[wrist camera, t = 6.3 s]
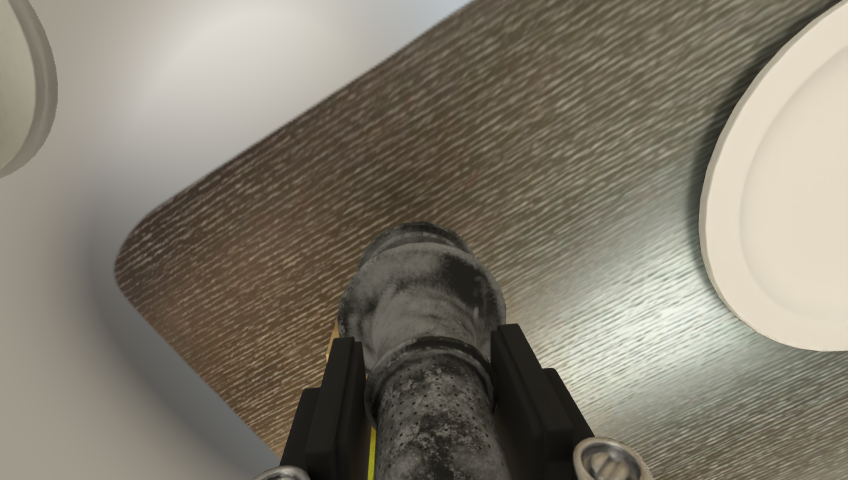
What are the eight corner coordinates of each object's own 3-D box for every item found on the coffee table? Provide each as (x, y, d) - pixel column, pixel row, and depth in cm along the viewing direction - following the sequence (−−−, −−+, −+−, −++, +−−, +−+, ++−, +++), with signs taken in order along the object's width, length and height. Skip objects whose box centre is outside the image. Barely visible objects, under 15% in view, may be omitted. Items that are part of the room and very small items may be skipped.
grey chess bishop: (345, 337, 19) (267, 716, 7) (350, 209, 17) (255, 446, 5) (476, 343, 19) (595, 704, 8) (495, 219, 17) (688, 454, 6)
